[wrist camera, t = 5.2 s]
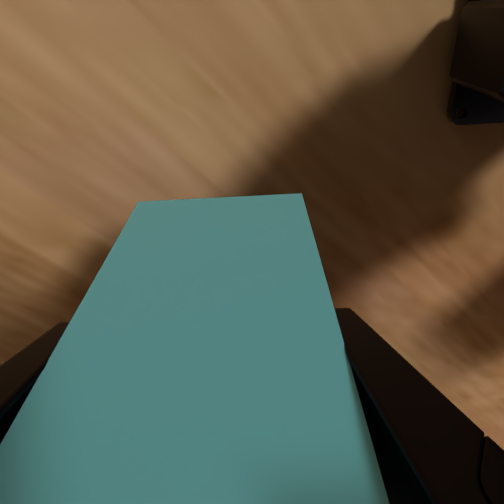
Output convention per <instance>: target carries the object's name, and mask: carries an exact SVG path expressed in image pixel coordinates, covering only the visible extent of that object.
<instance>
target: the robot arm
mask: <svg viewBox="0 0 504 504" xmlns="http://www.w3.org/2000/svg"><path fill="white" fill-rule="evenodd" d="M450 77H451V79H452V80H453V83H452V88H451V93H450V98H449V103H448V108H447V118H448V120H450V121H451V122H452V123H454V124H457V125H468V124H485V123H502V122H504V0H469V1H468V3H467V4H466V5H465V6H464V7H463V9H462V11H461V17H460V22H459V27H458V32H457V38H456V43H455V48H454V54H453V59H452V64H451V69H450ZM462 107H464V112H463V114H462V115H461V116H459V117H457V116H456V113H457V111H458V110H459V109H460V108H462ZM334 309H335V313H336V316H337V320H338V323H339V327H340V330H341V334H342V338H343V341H344V348H345V353H346V355H347V358H348V361H349V363H350V366H351V369H352V373H353V376H354V380H355V384H356V387H357V391H358V394H359V398H360V401H361V405H362V408H363V412H364V415H365V419H366V423H367V426H368V430H369V433H370V437H371V440H372V444H373V447H374V451H375V454H376V458H377V462H378V465H379V469H380V472H381V476H382V479H383V483H384V486H385V490H386V493H387V497H388V501H389V504H504V450H503V449H502V448H500V447H499V446H498V445H497V444H496V443H495V442H494V441H493V440H492V439H491V438H490V437H488V436H486V437H484V432H483V431H482V430H481V429H480V428H479V427H478V426H476V425H475V424H474V423H473V422H472V421H471V420H470V419H469V418H468V417H467V416H466V415H465V414H464V413H462V412H461V411H460V410H459V409H458V408H457V407H456V406H455V405H454V404H453V403H452V402H451V401H450V400H448V399H447V398H446V397H445V396H444V395H443V394H442V393H441V392H440V391H439V390H438V389H437V388H436V387H434V386H433V385H432V384H431V383H430V382H429V381H428V380H427V379H426V378H425V377H424V376H423V375H422V374H420V373H419V372H418V371H417V370H416V369H415V368H414V367H413V366H412V365H411V364H410V363H409V362H408V361H406V360H405V359H404V358H403V357H402V356H401V355H400V354H399V353H398V352H397V351H396V350H395V349H394V348H392V347H391V346H390V345H389V344H388V343H387V342H386V341H385V340H384V339H383V338H382V337H381V336H380V335H378V334H377V333H376V332H375V331H374V330H373V329H372V328H371V327H370V326H369V325H368V324H367V323H365V322H364V321H363V320H362V319H361V318H360V317H359V316H358V315H357V314H356V313H355V312H354V311H353V310H351V309H349V308H334ZM69 323H70V321H63V322H60V323H59V324H57V325H56V326H54V327H53V328H52V329H50V330H49V331H47V332H46V333H45V334H43V335H42V336H41V337H39V338H38V339H37V340H35V341H34V342H32V343H31V344H30V345H28V346H27V347H26V348H24V349H23V350H21V351H20V352H19V353H17V354H16V355H15V356H13V357H12V358H10V359H9V360H8V361H6V362H5V363H4V364H2V365H1V366H0V444H1V442H2V441H3V439H4V437H5V435H6V434H7V432H8V430H9V428H10V427H11V425H12V423H13V421H14V420H15V418H16V416H17V414H18V412H19V411H20V409H21V407H22V405H23V404H24V402H25V400H26V398H27V397H28V395H29V393H30V391H31V390H32V388H33V386H34V384H35V383H36V381H37V379H38V377H39V376H40V374H41V373H42V371H43V370H44V368H45V366H46V364H47V362H48V360H49V358H50V356H51V355H52V353H53V351H54V349H55V347H56V346H57V344H58V342H59V340H60V339H61V337H62V335H63V333H64V332H65V330H66V328H67V326H68V325H69Z"/></svg>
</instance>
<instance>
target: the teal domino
mask: <svg viewBox="0 0 504 504" xmlns="http://www.w3.org/2000/svg"><path fill="white" fill-rule="evenodd" d="M0 504H389V501H388V497H387V493H386V490H385V486H384V483H383V479H382V476H381V472H380V469H379V465H378V462H377V458H376V454H375V451H374V447H373V444H372V440H371V437H370V433H369V430H368V426H367V423H366V419H365V415H364V412H363V408H362V405H361V401H360V398H359V394H358V391H357V387H356V384H355V380H354V376H353V373H352V369H351V366H350V363H349V361H348V358H347V355H346V353H345V348H344V341H343V338H342V334H341V330H340V327H339V323H338V320H337V316H336V313H335V309H334V306H333V302H332V299H331V295H330V291H329V288H328V284H327V281H326V277H325V274H324V270H323V267H322V263H321V260H320V256H319V252H318V249H317V245H316V242H315V238H314V235H313V231H312V228H311V224H310V221H309V217H308V213H307V210H306V206H305V203H304V199H303V196H302V193H297V194H278V195H259V196H239V197H220V198H201V199H182V200H162V201H143V202H138V203H137V205H136V207H135V209H134V210H133V212H132V214H131V216H130V217H129V219H128V221H127V223H126V224H125V226H124V228H123V230H122V231H121V233H120V235H119V237H118V239H117V240H116V242H115V244H114V246H113V247H112V249H111V251H110V253H109V254H108V256H107V258H106V260H105V261H104V263H103V265H102V267H101V268H100V270H99V272H98V274H97V275H96V277H95V279H94V281H93V282H92V284H91V286H90V288H89V289H88V291H87V293H86V295H85V297H84V298H83V300H82V302H81V304H80V305H79V307H78V309H77V311H76V312H75V314H74V316H73V318H72V319H71V321H70V323H69V325H68V326H67V328H66V330H65V332H64V333H63V335H62V337H61V339H60V340H59V342H58V344H57V346H56V347H55V349H54V351H53V353H52V355H51V356H50V358H49V360H48V362H47V364H46V366H45V368H44V370H43V371H42V373H41V374H40V376H39V377H38V379H37V381H36V383H35V384H34V386H33V388H32V390H31V391H30V393H29V395H28V397H27V398H26V400H25V402H24V404H23V405H22V407H21V409H20V411H19V412H18V414H17V416H16V418H15V420H14V421H13V423H12V425H11V427H10V428H9V430H8V432H7V434H6V435H5V437H4V439H3V441H2V442H1V444H0Z"/></svg>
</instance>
